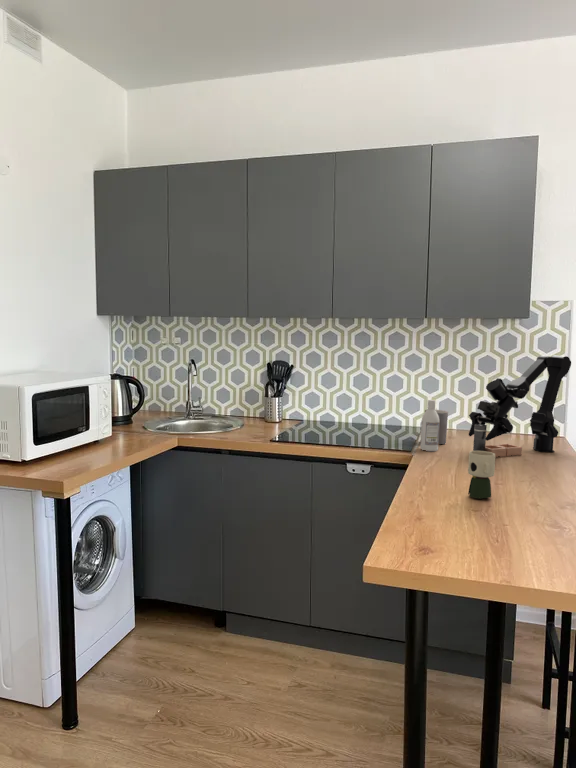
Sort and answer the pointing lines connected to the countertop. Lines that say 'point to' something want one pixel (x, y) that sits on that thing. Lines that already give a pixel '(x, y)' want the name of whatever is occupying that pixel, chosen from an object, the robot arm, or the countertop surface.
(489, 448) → the collar
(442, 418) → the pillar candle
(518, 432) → the countertop surface
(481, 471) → the character mug
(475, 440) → the tube
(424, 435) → the bath foam
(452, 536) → the countertop surface
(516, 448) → the collar
